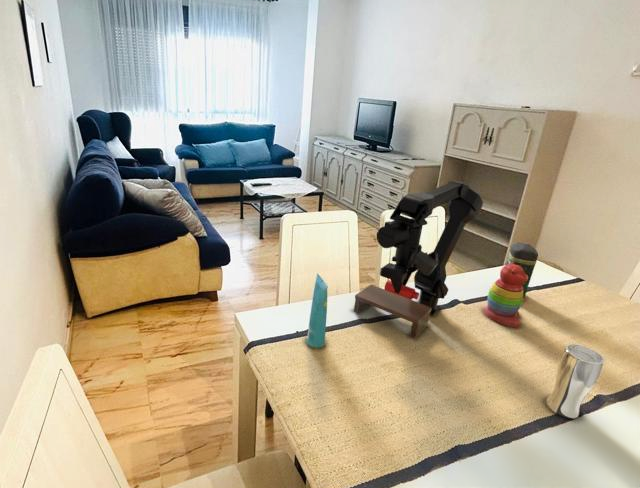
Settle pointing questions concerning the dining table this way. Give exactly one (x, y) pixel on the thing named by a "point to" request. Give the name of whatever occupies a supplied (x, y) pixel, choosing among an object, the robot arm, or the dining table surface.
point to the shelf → (394, 307)
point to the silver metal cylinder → (574, 379)
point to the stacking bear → (506, 296)
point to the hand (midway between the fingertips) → (399, 290)
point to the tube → (318, 314)
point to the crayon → (402, 291)
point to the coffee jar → (523, 260)
